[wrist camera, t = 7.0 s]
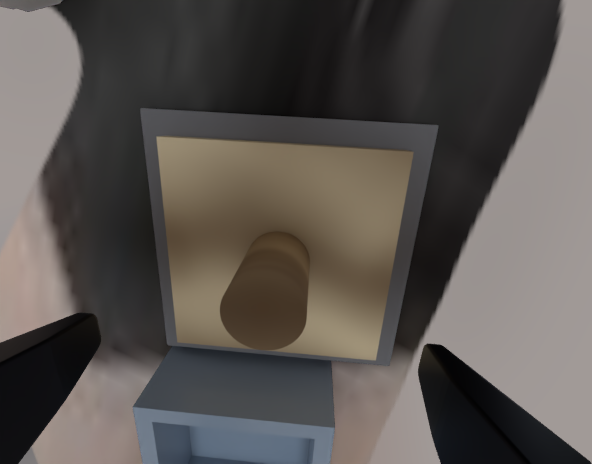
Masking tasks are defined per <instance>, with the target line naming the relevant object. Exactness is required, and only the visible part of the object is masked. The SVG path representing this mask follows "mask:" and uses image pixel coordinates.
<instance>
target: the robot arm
mask: <svg viewBox="0 0 592 464" xmlns="http://www.w3.org/2000/svg"><path fill="white" fill-rule="evenodd" d="M100 342H101V335H100V330H99V325H98V320H97V317H96V316H95V315H94V314H91V313H76V314H74V315H71V316H69V317H66V318H63V319H61V320H58V321H56V322H53V323H50V324H48V325H45V326H43V327H40V328H37V329H35V330H32V331H30V332H27V333H24V334H22V335H19V336H17V337H14V338H11V339H9V340H6V341H4V342H1V343H0V464H18V463H19V462H20V461H21V459H22V458H23V457H24V455H25V454H26V453H27V451H28V450H29V449H30V447H31V446H32V445H33V443H34V442H35V441H36V439H37V438H38V437H39V435H40V434H41V433H42V431H43V430H44V429H45V427H46V426H47V425H48V423H49V422H50V421H51V419H52V418H53V417H54V415H55V414H56V413H57V411H58V410H59V409H60V407H61V406H62V404H63V403H64V402H65V400H66V399H67V397H68V396H69V394H70V393H71V391H72V389H73V388H74V386H75V385H76V383H77V381H78V380H79V378H80V377H81V375H82V373H83V372H84V370H85V369H86V367H87V365H88V364H89V362H90V361H91V359H92V357H93V356H94V354H95V353H96V351H97V349H98V348H99V345H100ZM418 376H419V381H420V385H421V390H422V394H423V398H424V403H425V407H426V412H427V416H428V420H429V425H430V429H431V434H432V437H433V441H434V444H435V447H436V450H437V453H438V456H439V459H440V462H441V464H591V462H590V461H589V460H587V459H586V458H585V457H583V456H582V455H581V454H580V453H579V452H577V451H576V450H575V449H574V448H572V447H571V446H570V445H569V444H567V443H566V442H565V441H563V440H562V439H561V438H560V437H558V436H557V435H556V434H554V433H553V432H552V431H551V430H549V429H548V428H547V427H546V426H544V425H543V424H541V422H539V421H538V420H537V419H535V418H534V417H533V416H532V415H530V414H529V413H528V412H527V411H525V410H524V409H523V408H521V407H520V406H519V405H517V404H516V403H515V402H514V401H512V400H511V399H510V398H509V397H507V396H506V395H505V394H504V393H502V392H501V391H500V390H498V389H497V388H496V387H495V386H493V385H492V384H491V383H490V382H488V381H487V380H486V379H484V378H483V377H482V376H481V375H479V374H478V373H477V372H476V371H474V370H473V369H472V368H471V367H469V366H468V365H466V364H465V363H464V362H463V361H462V360H460V359H459V358H458V357H456V356H455V355H454V354H452V353H451V352H450V351H449V350H447V349H446V348H445V347H444V346H442V345H437V344H426V345H425V346H424V348H423V352H422V355H421V359H420V363H419V368H418Z"/></svg>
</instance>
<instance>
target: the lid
mask: <svg viewBox="0 0 592 464" xmlns="http://www.w3.org/2000/svg"><path fill="white" fill-rule="evenodd" d="M156 138H157V148H158V158H159V168H160V177H161V187H162V197H163V207H164V216H165V226H166V236H167V246H168V256H169V265H170V275H171V285H172V295H173V305H174V314H175V324H176V334H177V342H179V343H190V344H201V345H212V346H222V347H233V348H244V349H255V350H266V351H277V352H288V353H299V354H310V355H321V356H331V357H342V358H353V359H364V360H375V361H376V357H377V351H378V346H379V340H380V335H381V329H382V324H383V318H384V313H385V307H386V302H387V296H388V291H389V285H390V280H391V274H392V269H393V263H394V258H395V252H396V247H397V241H398V236H399V230H400V225H401V219H402V214H403V208H404V203H405V197H406V192H407V186H408V181H409V175H410V170H411V164H412V159H413V153H414V152H412V151H409V150H397V149H381V148H364V147H347V146H330V145H314V144H297V143H280V142H263V141H247V140H230V139H213V138H196V137H180V136H157V137H156Z"/></svg>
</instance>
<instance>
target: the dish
mask: <svg viewBox="0 0 592 464" xmlns="http://www.w3.org/2000/svg"><path fill="white" fill-rule="evenodd" d="M133 412H134V417H135V423H136V429H137V434H138V440H139V445H140V451H141V456H142V462H143V464H330V459H331V452H332V445H333V438H334V430H335V422H334V404H333V386H332V368H331V360H320V359H309V358H298V357H288V356H277V355H266V354H256V353H245V352H234V351H224V350H213V349H202V348H192V347H181V346H172V347H171V349H170V350H169V352H168V353H167V355H166V356H165V358H164V360H163V361H162V363H161V364H160V366H159V367H158V369H157V370H156V372H155V373H154V375H153V377H152V378H151V380H150V381H149V383H148V384H147V386H146V387H145V389H144V390H143V392H142V393H141V395H140V397H139V398H138V400H137V401H136V403H135V404H134V406H133Z"/></svg>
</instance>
